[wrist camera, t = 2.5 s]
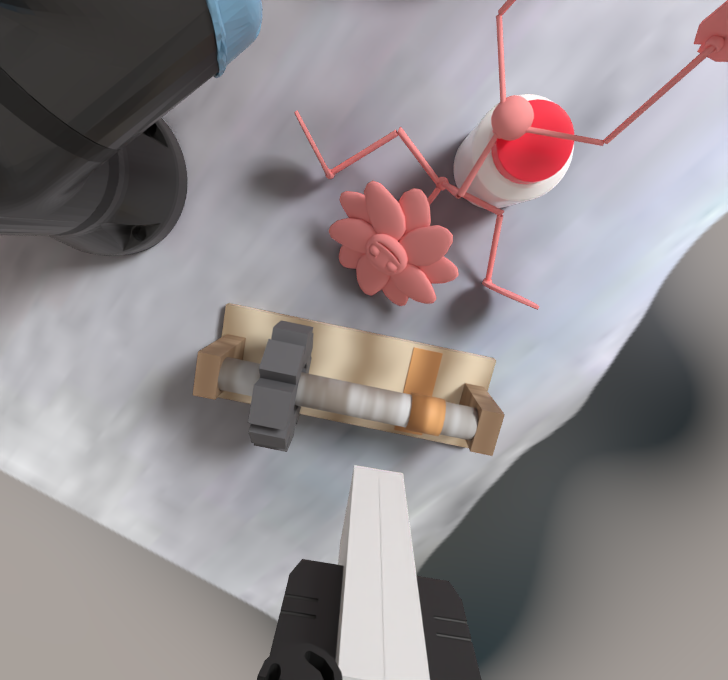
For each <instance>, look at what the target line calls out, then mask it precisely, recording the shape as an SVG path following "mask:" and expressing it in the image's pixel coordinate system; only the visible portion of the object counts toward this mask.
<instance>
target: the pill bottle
mask: <svg viewBox="0 0 728 680" xmlns="http://www.w3.org/2000/svg"><path fill="white" fill-rule="evenodd" d="M516 96H521V97H523V98H525V99H526V100H527V101H528V102H529V103H530V104H531V106H532V108H533V112H534V119H533V123H532V125H531V127H534V128H539V129H545V130H550V131H556V132H561V133H566V134H572V135H574V129H573V125H572V122H571V120H570V118H569V116H568V115H567V113H566V112H565V110H563V109H562V108H561V107H560V106H559V105H557V104H555V103H554V102H552V101H551V100H549V99H547V98H545V97H542V96H538V95H532V94H523V95H516ZM498 104H499V103H498ZM498 104H496V105H495V106H494V107H493V108H492V109H491V110H490V111H489V112H487V114H486V115H485V116H484V117H483V118H482V119H481V120H480V122H479V123H478V124H477V125H476V126H475V127H474V129H473V130H472V131H471V132H470V133H469V134H468V135H467V137H466V138H465V139H464V140H463V142H462V143H461V145H460V147H459V148H458V150H457V153H456V156H455V159H454V168H453V169H454V178H455V182H456V185H457V187H458V188H459V189H460V188H461V186H462V184H463V183H464V181H465V180H466V178H467V176H468V175H469V173H470V172H471V170H472V168H473V167H474V165H475V164H476V162H477V160H478V159H479V157H480V156H481V154H482V152H483V151H484V149H485V148H486V146H487V144H488V143H489V141H490V140H491V138H492V136H493V135H494V133H493V128H492V124H491V117H492V114H493V111H494V109H495V108H496V106H497V105H498ZM573 150H574V141H573V140H567V139H561V138H555V137H550V136H544V135H538V134H532V133H527V132H526V133H525V134H524V135H523V136H521V137H520V138H518V139H516V140H511V141H508V140H504V139H502V138H501V139H499V138H497V140H496V142H495V143H494V145H493V147H492V149H491V150H490V152H489V154H488V155H487V157H486V159H485V161H484V162H483V164H482V166H481V167H480V169H479V171H478V173H477V174H476V176H475V178H474V179H473V181H472V183H471V185H470V186H469V188H468V190H467V191H466V192H467V193H469V194H471V195H473V196H475V197H477V198H479V199H481V200H483V201H485V202H487V203H489V204H491V205H493V206H495V207H497V208H504V207H508V206H511V205H515V204H519V203H523V202H526V201H530V200H533V199H536V198H539V197H541V196H542V195H544V194H546V193H548V192H549V191H550V190H551V189H553V188H554V187H555V186H556V185H557V184H558V183H559V182H560V180H561V179H562V178H563V177H564V175H565V173H566V171H567V170H568V168H569V165H570V162H571V160H572V156H573ZM466 200H467V199H466ZM468 201H469V200H468ZM469 202H470V203H472V204H473V205H475V206H477V207H480V208H483V207H481V206H479V205H477V204H475V203H473V202H471V201H469ZM484 209H485V208H484Z"/></svg>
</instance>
